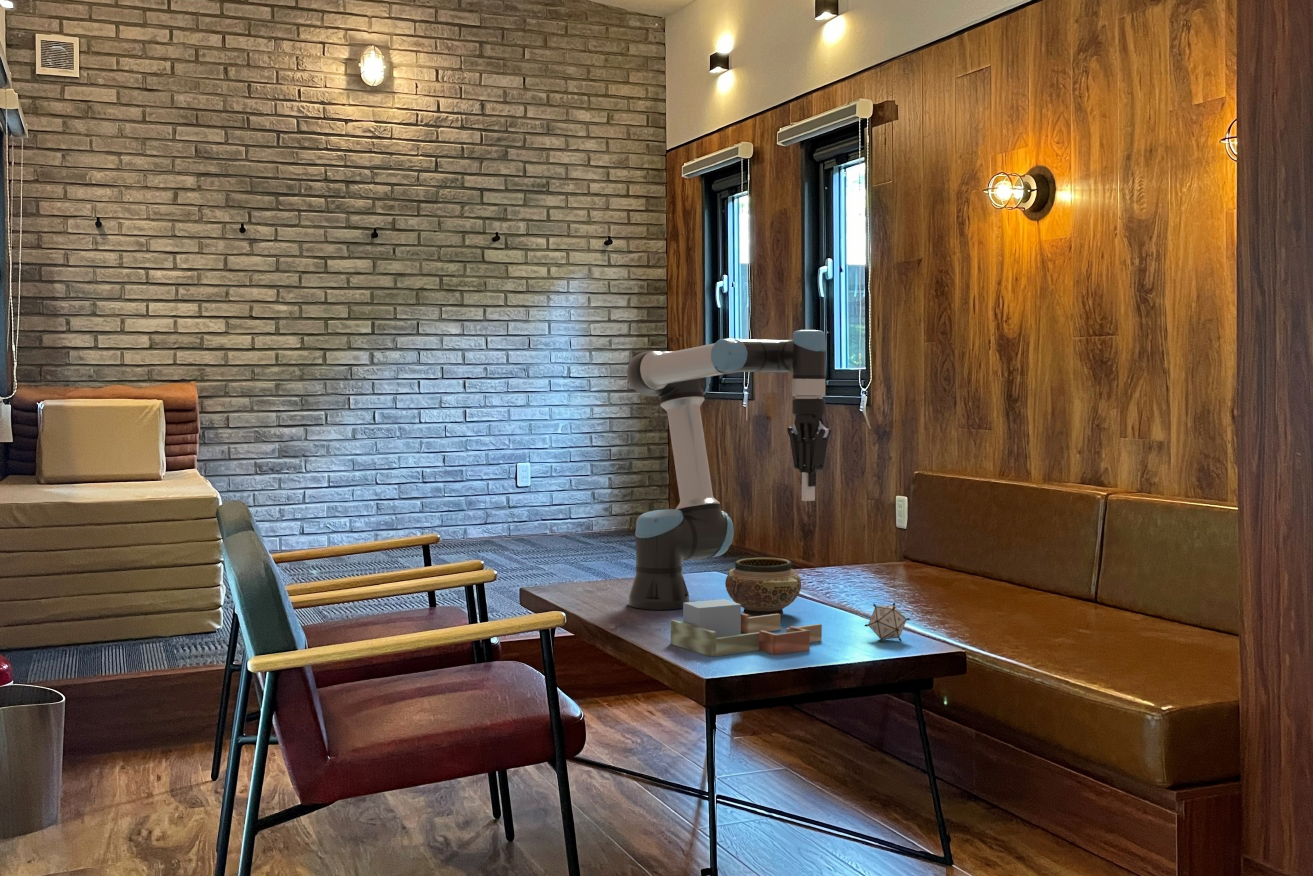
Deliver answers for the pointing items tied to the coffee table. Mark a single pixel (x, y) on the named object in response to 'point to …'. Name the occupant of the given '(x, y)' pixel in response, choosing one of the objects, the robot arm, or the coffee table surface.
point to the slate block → (714, 616)
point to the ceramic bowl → (763, 585)
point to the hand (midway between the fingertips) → (808, 500)
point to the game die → (887, 622)
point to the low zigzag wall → (746, 637)
